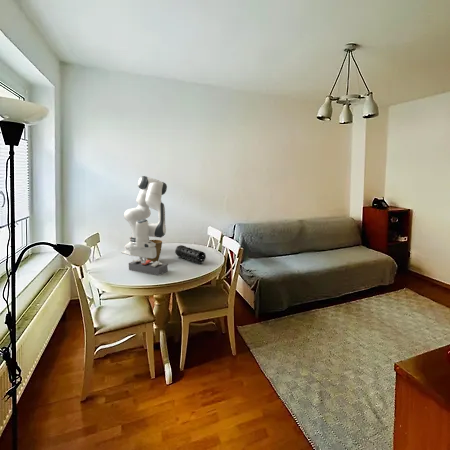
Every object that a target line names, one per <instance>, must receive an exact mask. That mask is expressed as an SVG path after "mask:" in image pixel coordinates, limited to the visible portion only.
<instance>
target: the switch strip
mask: <svg viewBox="0 0 450 450" xmlns="http://www.w3.org/2000/svg"><path fill="white" fill-rule="evenodd" d="M137 260H140V258H139V259H137ZM153 263H154V262H153V261H151V262H150V263H149V264H146V265H144V264H142V263H141V262H140V263H138V262H134V261H133V260H132V261H130V262H128V271H132V272H133V271H134V272H138V273H143V274H149V275H154V276H155V275H156V276H161V275H162V274H165V273H166V272H168V269H169V268H168V263H163V262H160V264H158V266H156V267H153V266H151V265H152V264H153Z"/></svg>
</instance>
